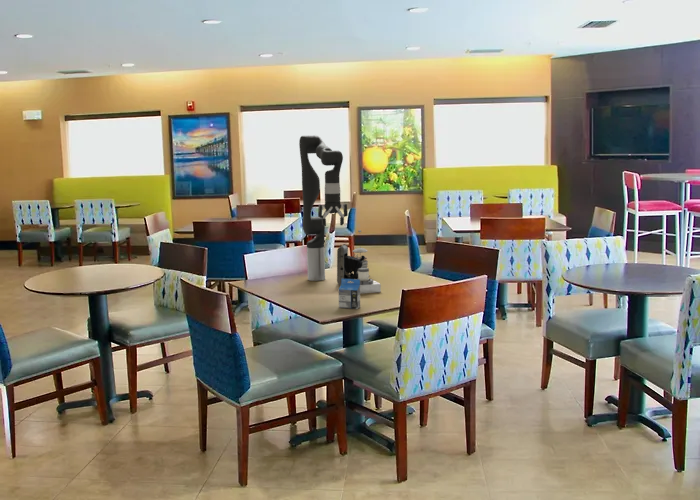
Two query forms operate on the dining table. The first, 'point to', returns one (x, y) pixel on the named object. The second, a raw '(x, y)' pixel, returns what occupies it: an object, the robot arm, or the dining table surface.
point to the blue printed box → (349, 294)
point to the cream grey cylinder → (363, 274)
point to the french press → (362, 250)
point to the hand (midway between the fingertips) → (333, 225)
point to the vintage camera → (347, 264)
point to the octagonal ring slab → (369, 286)
